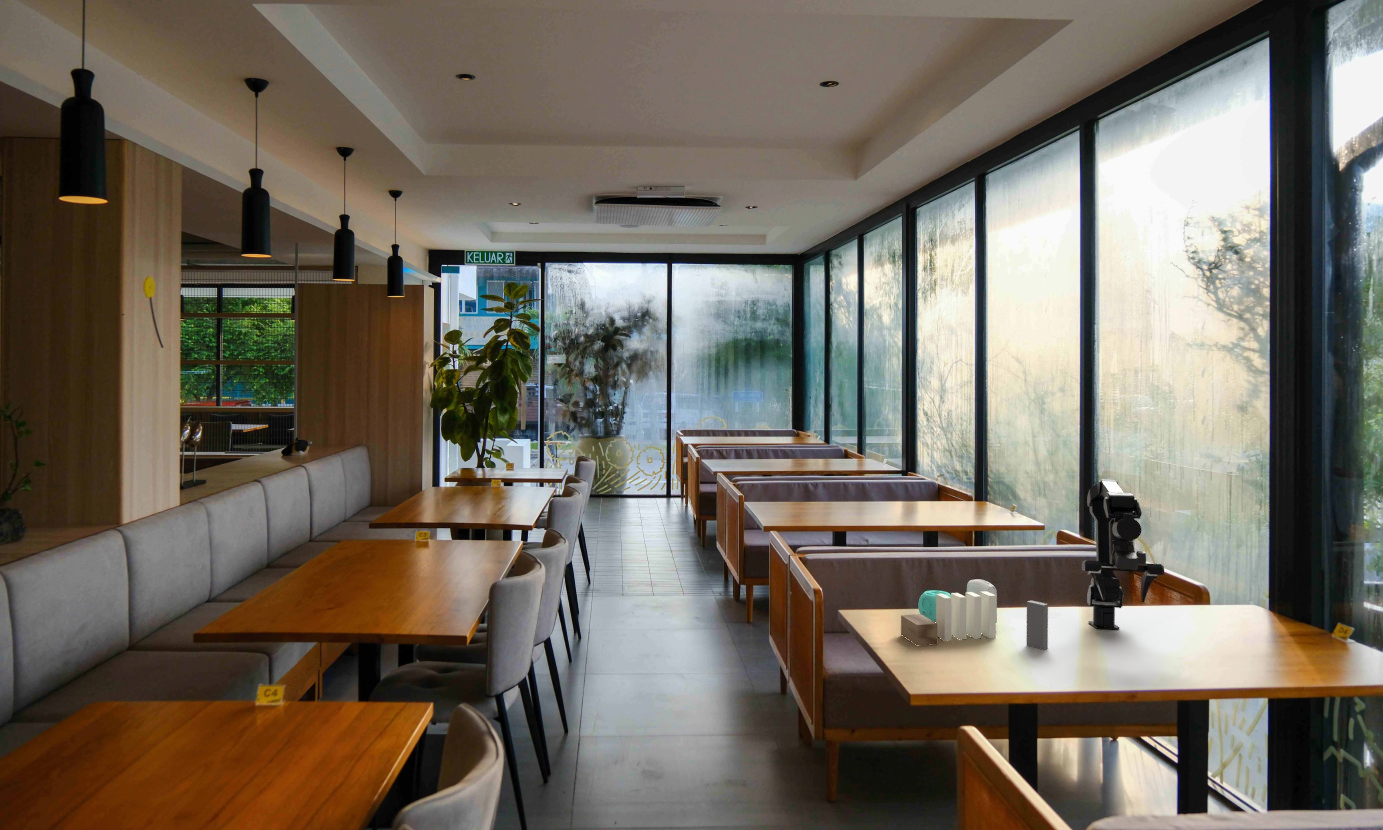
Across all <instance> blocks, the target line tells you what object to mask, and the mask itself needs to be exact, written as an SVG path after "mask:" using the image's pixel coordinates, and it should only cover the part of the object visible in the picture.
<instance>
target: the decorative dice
mask: <svg viewBox="0 0 1383 830" xmlns="http://www.w3.org/2000/svg"><path fill="white" fill-rule="evenodd" d="M936 594H944V595H946V596H948V597H951V593H949V592H947V591H944V590H933V589H932V590H926V591H924V592H923V593H922V594H921V595H920V596H919V600H918V603H917V604H918V605H917V606H918V607H917V608H918V613H919V614H921V615H923V616H925V617H927V618H928V619H930V620H932V621H934V622H936Z"/></svg>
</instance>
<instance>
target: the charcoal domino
mask: <svg viewBox="0 0 1383 830" xmlns="http://www.w3.org/2000/svg"><path fill="white" fill-rule="evenodd" d="M1048 623H1049V604H1048V603H1044V602H1041V601H1035V600H1028V601H1026V646H1029V647H1031V648H1035V649H1039V650H1042V651H1044V650H1047V649H1049V648H1048V646H1049V645H1048V643H1049V641H1048V640H1049V636H1048V635H1049V630H1048V629H1049V627H1048V626H1049V624H1048Z"/></svg>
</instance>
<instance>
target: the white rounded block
mask: <svg viewBox="0 0 1383 830" xmlns="http://www.w3.org/2000/svg"><path fill="white" fill-rule="evenodd" d="M982 591H987V592H989V593H992V594H994V595H996V624H997V623H998V606H997V605H998V594H997V593H998V591H997V588H996V587H995V586H994V585H993V584H992V583H991V582H989V581H987V580H984V579H979V578H978V579H971V580H969V581H968V582H967V584H966V592H973V593H975V594H977V595H980V592H982Z"/></svg>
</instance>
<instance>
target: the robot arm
mask: <svg viewBox="0 0 1383 830" xmlns="http://www.w3.org/2000/svg"><path fill="white" fill-rule="evenodd" d="M1086 498H1087V500H1086V504H1087V505H1086V506H1087V507H1089V513H1090V515H1091V516H1092V517H1093V519H1094V521H1095V541H1096V542H1095V543H1096V544H1095V545H1096V547H1095V550H1096V557H1095V558H1096V560H1087V559H1086V560H1083V561H1082V563H1081V570H1082V571H1083V572H1087V575H1091V576H1092V578H1091V580H1090V585H1088V589H1087V595H1086V602H1087V604H1088V605H1089V607H1092V620H1089V621H1088V624H1089V625H1091V626H1092V627H1094V628H1096V629H1098V630H1099V629H1100V630H1105V629H1106V630H1120V628H1121V627H1119V626H1118V625H1117V624H1115V623H1116V619H1115V618H1116V614H1115V613H1116V608H1118V609H1122V608H1123V601H1124V595H1125V593H1124V591H1123V588H1122V586H1121V583H1120V582H1121V581H1120V580H1119V578H1118V577H1117V575H1116V574H1115V573H1114V571H1115V572H1117V571H1118V572H1134V573H1135V572H1136V573H1143V574H1142V575H1141V578H1140V579H1141V582H1140V583H1141V584H1140V599H1141V600H1140V602H1141V603H1145V600H1146V598H1147V594H1148V591H1149V589H1150V586H1151V584H1152V582H1153V581H1154V580H1155V579H1159V576H1165V567H1164V565H1163V564H1162V563H1147V553H1146V551H1144V550H1136V551H1135V544H1134V540H1137V539H1138V538H1139V537H1140V536H1141V533H1142V526H1141V524H1140V523H1139V521H1138V520H1140V519H1141V517H1142V513H1143V512H1142V510H1141V505H1140V502H1139V501H1138V499H1137V498H1136V497H1135V495H1134V494H1133V493H1130V492H1127V491H1126V492H1124V491H1123V489H1122V488H1121V487H1120V486H1119V481H1118V480H1115V479H1100V480H1099V479H1098V480H1097V484H1095V485H1094V486H1092V487H1091V488H1089V489H1088V493H1087V497H1086Z"/></svg>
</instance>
